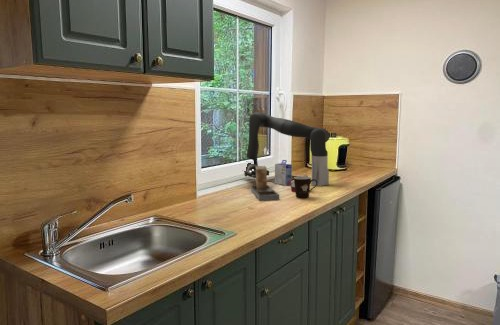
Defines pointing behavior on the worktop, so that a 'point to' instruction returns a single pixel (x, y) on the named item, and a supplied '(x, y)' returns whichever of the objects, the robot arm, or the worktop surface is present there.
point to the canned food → (293, 186)
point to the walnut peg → (261, 177)
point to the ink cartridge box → (283, 173)
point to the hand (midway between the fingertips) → (258, 175)
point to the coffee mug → (303, 186)
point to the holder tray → (265, 193)
